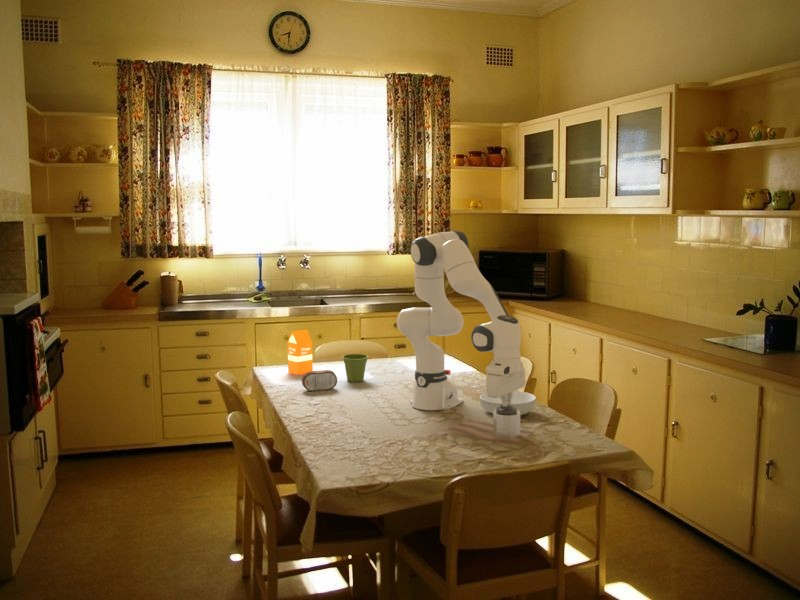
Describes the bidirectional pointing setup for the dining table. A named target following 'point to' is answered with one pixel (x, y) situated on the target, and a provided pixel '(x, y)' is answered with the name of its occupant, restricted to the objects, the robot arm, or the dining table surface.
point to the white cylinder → (506, 425)
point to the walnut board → (483, 431)
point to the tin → (319, 380)
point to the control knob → (506, 410)
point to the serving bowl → (519, 401)
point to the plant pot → (355, 366)
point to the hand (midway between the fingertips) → (506, 405)
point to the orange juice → (300, 352)
